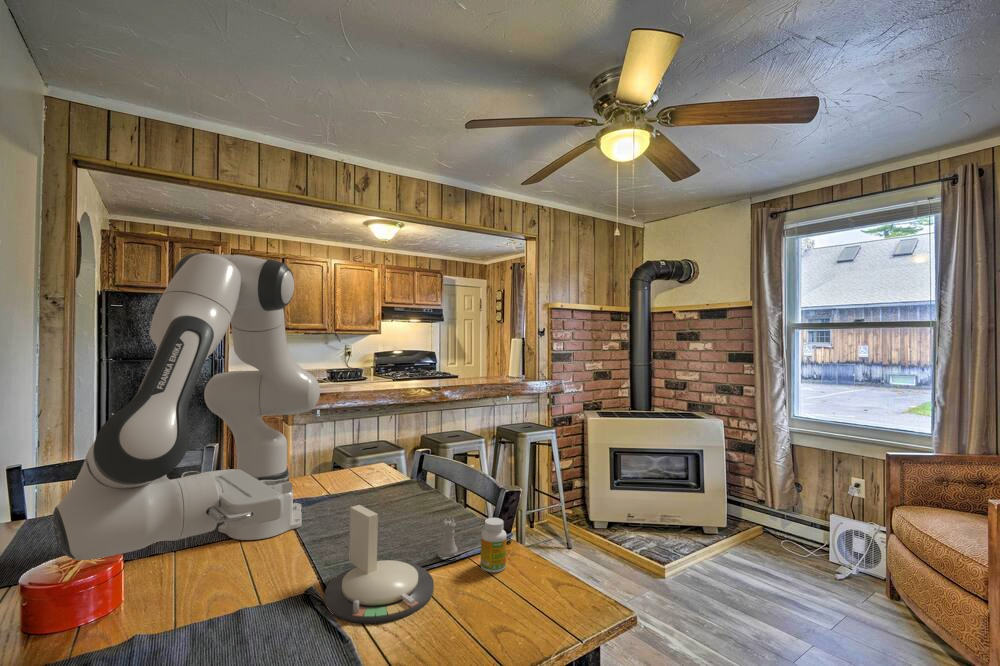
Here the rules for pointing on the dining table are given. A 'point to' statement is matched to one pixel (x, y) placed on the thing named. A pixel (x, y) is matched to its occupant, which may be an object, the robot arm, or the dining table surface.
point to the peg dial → (374, 566)
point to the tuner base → (377, 613)
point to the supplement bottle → (493, 546)
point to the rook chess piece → (448, 539)
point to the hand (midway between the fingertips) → (288, 484)
